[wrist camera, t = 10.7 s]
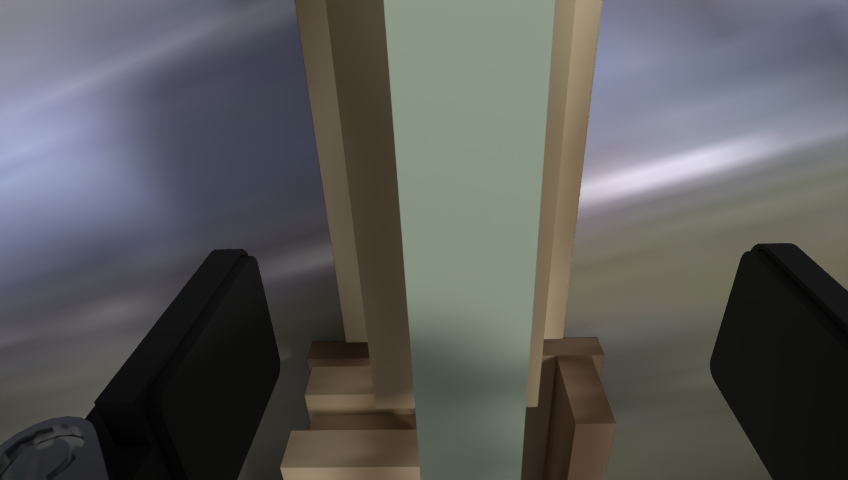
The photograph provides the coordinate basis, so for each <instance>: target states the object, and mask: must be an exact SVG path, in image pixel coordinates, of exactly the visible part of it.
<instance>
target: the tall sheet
mask: <svg viewBox="0 0 848 480" xmlns="http://www.w3.org/2000/svg"><path fill="white" fill-rule="evenodd" d="M554 10H555V0H384V12H385V25H386V38H387V51H388V64H389V77H390V90H391V103H392V116H393V129H394V141H395V154H396V167H397V180H398V193H399V206H400V219H401V232H402V245H403V258H404V271H405V284H406V296H407V309H408V322H409V335H410V348H411V361H412V374H413V387H414V400H415V413H416V426H417V438H418V451H419V464H420V477H421V480H521V469H522V455H523V441H524V427H525V413H526V400H527V386H528V372H529V358H530V344H531V330H532V316H533V302H534V288H535V274H536V260H537V246H538V232H539V218H540V205H541V191H542V177H543V163H544V149H545V135H546V121H547V107H548V93H549V79H550V65H551V51H552V37H553V23H554Z"/></svg>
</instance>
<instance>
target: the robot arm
mask: <svg viewBox="0 0 848 480" xmlns="http://www.w3.org/2000/svg"><path fill="white" fill-rule="evenodd" d="M710 369H711V374H712V377H713V379H714V381H715V383H716V385H717V386H718V388H719V390H720V391H721V393H722V395H723V396H724V398H725V400H726V401H727V403H728V405H729V406H730V408H731V410H732V411H733V413H734V415H735V417H736V418H737V420H738V422H739V423H740V425H741V427H742V428H743V430H744V432H745V433H746V435H747V437H748V438H749V440H750V442H751V443H752V445H753V447H754V449H755V450H756V452H757V454H758V455H759V457H760V459H761V460H762V462H763V464H764V465H765V467H766V469H767V470H768V472H769V474H770V475H771V477H772V479H773V480H848V291H847V290H846V289H845V288H843V287H842V286H841V285H840V284H839V283H838V282H837V281H836V280H834V279H833V278H832V277H831V276H830V275H829V274H828V273H827V272H825V271H824V270H823V269H822V268H821V267H820V266H819V265H818V264H816V263H815V262H814V261H813V260H812V259H811V258H810V257H809V256H807V255H806V254H805V253H804V252H803V251H802V250H801V249H800V248H798V247H797V246H796V245H794V244H790V243H770V244H757V245H755V246H754V247H753V248H752V249H751V251H747V252H745V253H744V254H743V255H742V257H741V260H740V263H739V266H738V270H737V273H736V276H735V280H734V283H733V286H732V290H731V293H730V296H729V300H728V303H727V306H726V310H725V313H724V316H723V320H722V323H721V326H720V330H719V333H718V336H717V340H716V343H715V347H714V350H713V353H712V357H711V361H710ZM279 372H280V357H279V353H278V349H277V344H276V340H275V336H274V332H273V327H272V323H271V319H270V314H269V310H268V306H267V301H266V297H265V293H264V288H263V284H262V280H261V275H260V271H259V267H258V263H257V260H256V258H255V257H253V256H248V254H247V252H246V251H245V250H243V249H218V250H213V251H212V252H211V253H210V254H209V256H208V257H207V258H206V259H205V261H204V262H203V263H202V265H201V266H200V267H199V268H198V270H197V271H196V272H195V274H194V275H193V276H192V277H191V279H190V280H189V281H188V283H187V284H186V285H185V286H184V288H183V289H182V290H181V292H180V293H179V294H178V295H177V297H176V298H175V299H174V301H173V302H172V303H171V304H170V306H169V307H168V308H167V310H166V311H165V312H164V313H163V315H162V316H161V317H160V318H159V320H158V321H157V322H156V324H155V325H154V326H153V327H152V329H151V330H150V331H149V333H148V334H147V335H146V336H145V338H144V339H143V340H142V342H141V343H140V344H139V345H138V347H137V348H136V349H135V351H134V352H133V353H132V354H131V356H130V357H129V358H128V360H127V361H126V362H125V363H124V365H123V366H122V367H121V369H120V370H119V371H118V372H117V374H116V375H115V376H114V378H113V379H112V380H111V381H110V383H109V384H108V385H107V386H106V388H105V389H104V390H103V392H102V393H101V394H100V395H99V397H98V398H97V399H96V401H95V402H94V403H95V407H94V408H93V409H92V410H91V412H90V413H89V414H88V416H87V417H86V418H85V419H83V418H81V417H71V416H66V417H59V418H53V419H49V420H46V421H43V422H41V423H38V424H35V425H33V426H31V427H29V428H27V429H25V430H23V431H21V432H19V433H17V434H16V435H14V436H13V437H11V438H10V439H9V440H7V441H6V442H4V443H3V444H2V445H0V480H237V479H238V476H239V474H240V471H241V469H242V466H243V464H244V461H245V459H246V456H247V454H248V451H249V449H250V446H251V444H252V441H253V439H254V436H255V434H256V431H257V429H258V426H259V424H260V421H261V419H262V416H263V414H264V411H265V409H266V406H267V404H268V401H269V399H270V397H271V394H272V392H273V389H274V387H275V384H276V382H277V379H278V376H279Z"/></svg>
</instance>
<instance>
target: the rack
mask: <svg viewBox="0 0 848 480" xmlns="http://www.w3.org/2000/svg"><path fill="white" fill-rule="evenodd" d="M603 358H604V353H603V351H602V348H601V346H600V343H599V341H598V338H563V339H544V343H543V354H542V364H541V375H540V385H539V396H538V407H526V413H525V427H524V441H523V455H522V469H521V480H605V476H606V471H607V466H608V461H609V456H610V451H611V447H612V442H613V437H614V432H615V427H616V422H615V419H614V416H613V414H612V411H611V408H610V405H609V403H608V400H607V397H606V394H605V392H604V389H603V386H602V383H601V381H600V375H601V370H602V364H603ZM307 362H308V367H309V372H310V378H309V381H308V385H307V388H306V392H305V400H306V404H307V409H308V414H309V418H310V423H311V425H310V429H309V431H291V433H290V437H289V440H288V443H287V447H286V450H285V454H284V457H283V460H282V464H281V467H280V469H281V472H282V476H283V480H421V477H420V464H419V451H418V438H417V426H416V413H415V408H403V409H376V406H375V398H374V390H373V382H372V374H371V366H370V357H369V349H368V342H312V345H311V348H310V351H309V354H308V358H307Z"/></svg>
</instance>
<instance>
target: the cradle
mask: <svg viewBox="0 0 848 480" xmlns="http://www.w3.org/2000/svg"><path fill="white" fill-rule="evenodd" d="M295 5H296V12H297V18H298V25H299V32H300V38H301V45H302V52H303V58H304V65H305V72H306V78H307V85H308V92H309V98H310V105H311V112H312V118H313V125H314V131H315V138H316V145H317V151H318V158H319V165H320V171H321V178H322V185H323V191H324V198H325V205H326V211H327V218H328V225H329V231H330V238H331V245H332V251H333V258H334V265H335V271H336V278H337V285H338V291H339V298H340V305H341V311H342V318H343V325H344V331H345V338H346V342H368V349H369V357H370V366H371V374H372V382H373V390H374V398H375V406H376V409H403V408H415V400H414V387H413V374H412V361H411V348H410V335H409V322H408V309H407V296H406V284H405V271H404V258H403V245H402V232H401V219H400V206H399V193H398V180H397V167H396V154H395V141H394V129H393V116H392V103H391V90H390V77H389V64H388V51H387V38H386V25H385V12H384V0H295ZM601 9H602V0H555V10H554V23H553V37H552V51H551V65H550V79H549V93H548V107H547V121H546V135H545V149H544V163H543V177H542V191H541V205H540V218H539V232H538V246H537V260H536V274H535V288H534V302H533V316H532V330H531V344H530V358H529V372H528V386H527V400H526V407H538V396H539V385H540V375H541V364H542V354H543V343H544V339H563V332H564V324H565V315H566V307H567V298H568V290H569V281H570V273H571V264H572V256H573V247H574V239H575V230H576V222H577V213H578V204H579V196H580V187H581V179H582V170H583V162H584V153H585V145H586V136H587V128H588V119H589V111H590V102H591V94H592V85H593V77H594V68H595V60H596V51H597V43H598V34H599V26H600V17H601Z"/></svg>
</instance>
